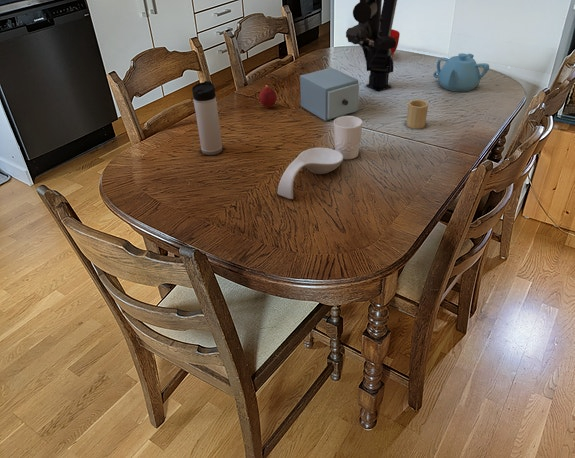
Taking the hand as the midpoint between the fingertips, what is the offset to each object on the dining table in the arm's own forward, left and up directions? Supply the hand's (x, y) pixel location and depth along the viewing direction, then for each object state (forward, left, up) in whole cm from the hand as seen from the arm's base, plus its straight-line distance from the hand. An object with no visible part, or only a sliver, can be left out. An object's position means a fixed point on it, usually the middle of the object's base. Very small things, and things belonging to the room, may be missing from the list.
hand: (368, 64), depth 165 cm
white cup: (+28, +26, -13) cm, 40 cm away
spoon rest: (+44, +31, -13) cm, 55 cm away
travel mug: (+59, +1, -13) cm, 60 cm away
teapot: (-36, +8, -13) cm, 39 cm away
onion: (+30, -16, -13) cm, 36 cm away
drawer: (+14, -1, -12) cm, 18 cm away
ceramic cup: (-32, -30, -8) cm, 45 cm away
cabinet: (+14, -3, -13) cm, 19 cm away
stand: (-1, +23, -13) cm, 27 cm away
